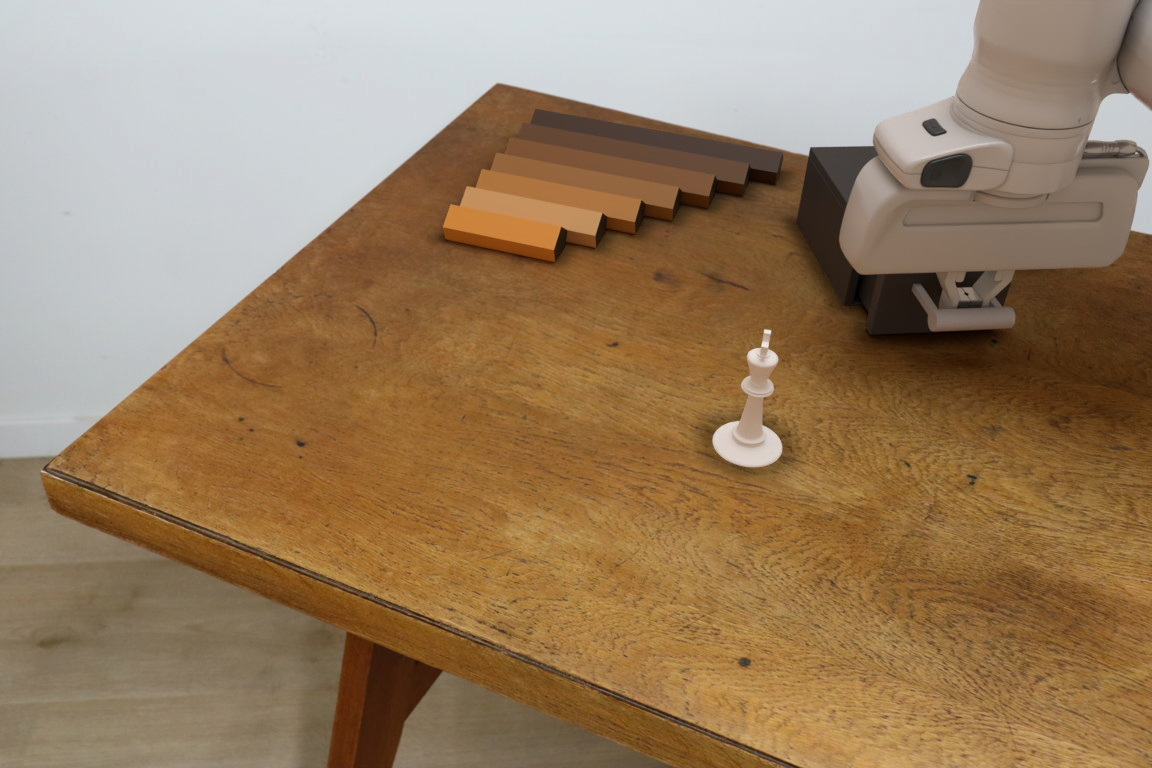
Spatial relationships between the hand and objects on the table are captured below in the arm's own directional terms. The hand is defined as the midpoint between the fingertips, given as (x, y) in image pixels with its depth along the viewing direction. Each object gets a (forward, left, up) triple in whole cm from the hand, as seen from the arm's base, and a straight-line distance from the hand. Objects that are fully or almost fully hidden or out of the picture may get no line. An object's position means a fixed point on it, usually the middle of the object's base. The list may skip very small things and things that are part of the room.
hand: (960, 314), depth 82 cm
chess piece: (+18, +9, -5) cm, 21 cm away
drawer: (0, -6, -4) cm, 7 cm away
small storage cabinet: (0, -14, -5) cm, 15 cm away
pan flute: (+21, -25, -5) cm, 33 cm away
